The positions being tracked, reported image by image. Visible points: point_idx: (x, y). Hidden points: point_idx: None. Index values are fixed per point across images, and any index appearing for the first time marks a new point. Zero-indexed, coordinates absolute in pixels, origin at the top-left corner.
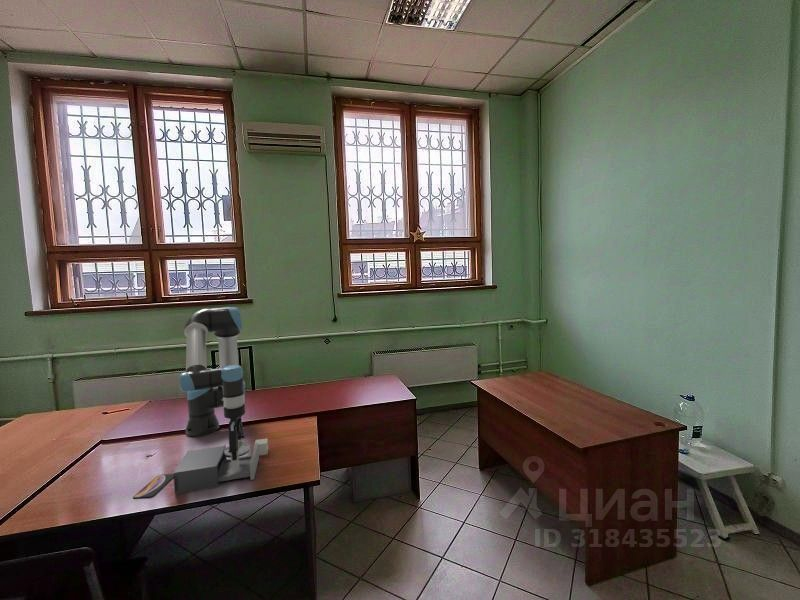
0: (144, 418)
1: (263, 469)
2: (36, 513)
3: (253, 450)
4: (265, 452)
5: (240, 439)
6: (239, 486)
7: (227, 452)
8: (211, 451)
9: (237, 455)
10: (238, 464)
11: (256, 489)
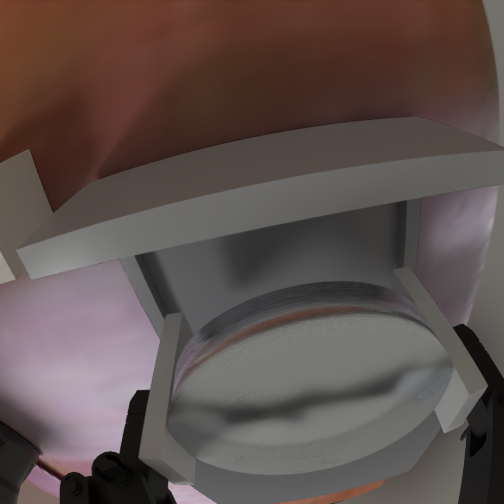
0: (33, 483)
1: (265, 75)
2: (340, 495)
3: (201, 235)
4: (23, 164)
5: (153, 467)
6: (447, 193)
7: (393, 439)
8: (239, 477)
9: (459, 350)
10: (419, 284)
11: (493, 89)
